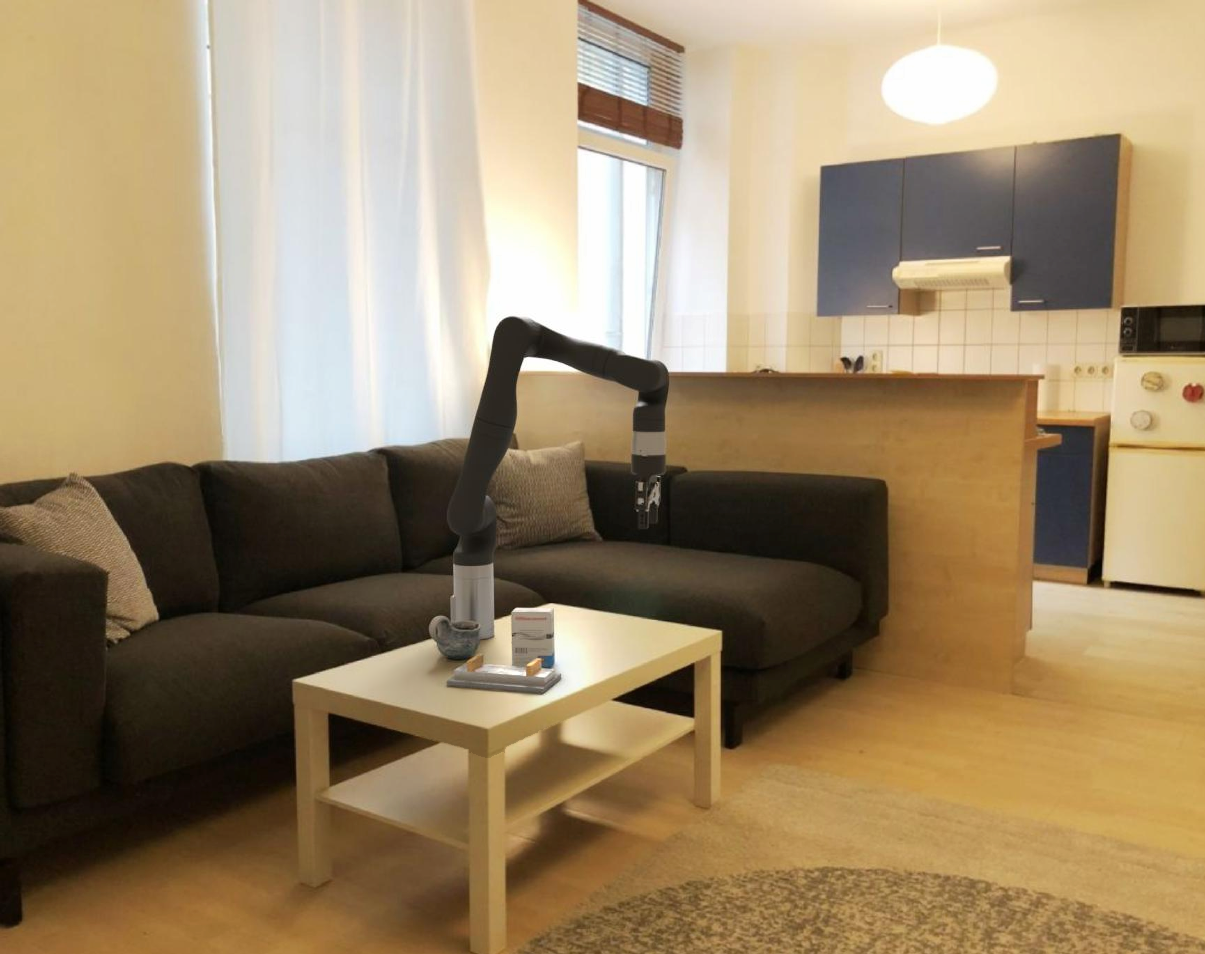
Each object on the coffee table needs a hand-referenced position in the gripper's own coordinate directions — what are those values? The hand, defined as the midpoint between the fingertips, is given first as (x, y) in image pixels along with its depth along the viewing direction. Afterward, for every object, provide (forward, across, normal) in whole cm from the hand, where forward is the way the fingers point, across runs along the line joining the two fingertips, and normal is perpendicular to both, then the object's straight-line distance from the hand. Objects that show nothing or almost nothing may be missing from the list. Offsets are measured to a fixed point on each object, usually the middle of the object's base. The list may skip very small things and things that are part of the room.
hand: (647, 526), depth 242 cm
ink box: (+28, +18, -20) cm, 39 cm away
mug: (+28, +18, -38) cm, 51 cm away
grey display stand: (+28, +32, -21) cm, 47 cm away
